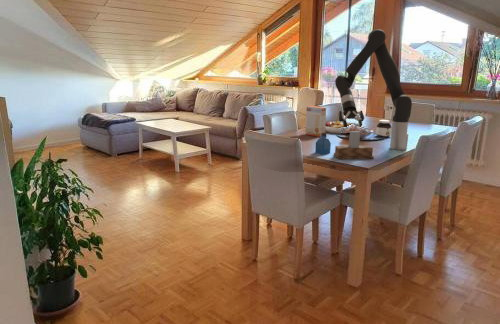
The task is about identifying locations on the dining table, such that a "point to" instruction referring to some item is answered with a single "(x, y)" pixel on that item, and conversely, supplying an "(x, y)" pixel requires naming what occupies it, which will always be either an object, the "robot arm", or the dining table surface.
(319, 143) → the perfume bottle
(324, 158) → the dining table surface
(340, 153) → the stand
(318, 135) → the cracker box
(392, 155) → the dining table surface
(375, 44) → the robot arm
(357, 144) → the slate peg
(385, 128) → the spread jar
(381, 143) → the dining table surface
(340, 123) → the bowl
